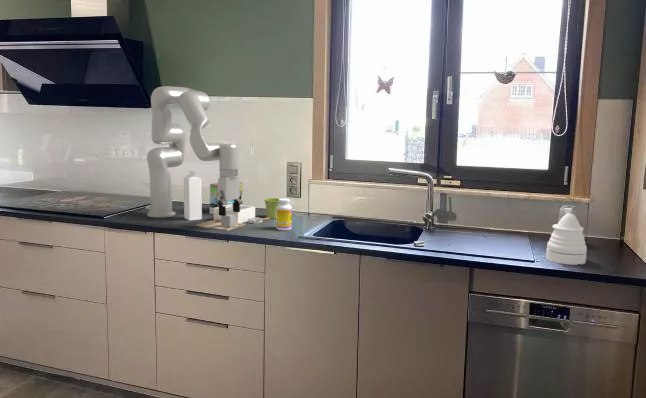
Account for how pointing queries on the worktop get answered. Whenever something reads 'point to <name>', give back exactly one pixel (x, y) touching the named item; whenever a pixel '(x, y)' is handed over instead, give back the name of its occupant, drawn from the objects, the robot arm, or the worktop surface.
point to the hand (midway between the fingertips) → (229, 213)
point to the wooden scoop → (257, 220)
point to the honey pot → (567, 241)
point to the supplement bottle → (284, 215)
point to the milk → (192, 197)
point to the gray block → (228, 221)
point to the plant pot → (271, 207)
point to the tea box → (214, 192)
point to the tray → (218, 225)
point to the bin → (237, 213)
